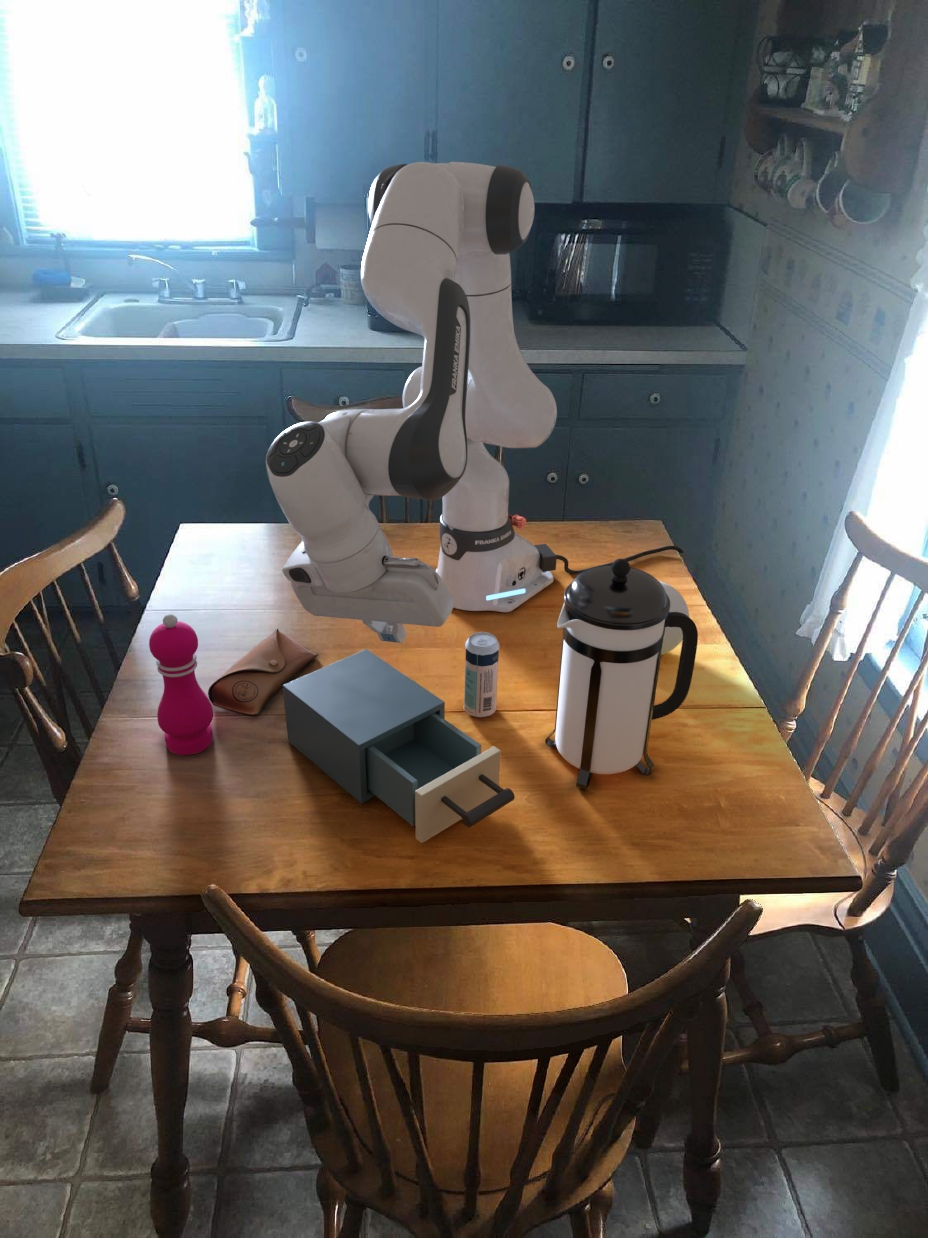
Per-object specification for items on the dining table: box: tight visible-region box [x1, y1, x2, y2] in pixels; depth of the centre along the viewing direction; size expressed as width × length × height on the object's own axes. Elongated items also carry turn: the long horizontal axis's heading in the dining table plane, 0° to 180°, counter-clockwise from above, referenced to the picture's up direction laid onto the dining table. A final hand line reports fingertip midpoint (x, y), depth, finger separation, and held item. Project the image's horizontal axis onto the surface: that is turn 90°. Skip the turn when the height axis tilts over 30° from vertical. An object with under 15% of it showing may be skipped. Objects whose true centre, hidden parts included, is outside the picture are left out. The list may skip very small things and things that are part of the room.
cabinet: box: [282, 648, 446, 805], centre depth 126 cm, size 17×14×9 cm
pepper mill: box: [148, 613, 215, 756], centre depth 124 cm, size 7×7×20 cm
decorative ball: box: [658, 580, 690, 656], centre depth 148 cm, size 12×12×12 cm
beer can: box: [463, 631, 501, 718], centre depth 133 cm, size 5×5×12 cm
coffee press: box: [544, 558, 699, 791], centre depth 121 cm, size 17×16×30 cm
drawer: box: [365, 713, 516, 844], centre depth 117 cm, size 21×13×7 cm, turn 42°
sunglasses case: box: [207, 627, 319, 716], centre depth 141 cm, size 18×7×7 cm
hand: (394, 638), depth 117 cm, fingers closed
